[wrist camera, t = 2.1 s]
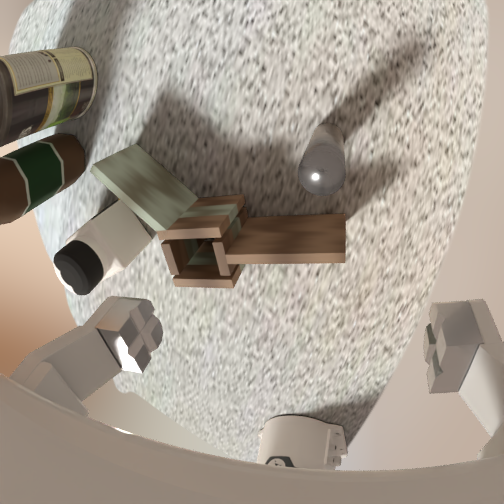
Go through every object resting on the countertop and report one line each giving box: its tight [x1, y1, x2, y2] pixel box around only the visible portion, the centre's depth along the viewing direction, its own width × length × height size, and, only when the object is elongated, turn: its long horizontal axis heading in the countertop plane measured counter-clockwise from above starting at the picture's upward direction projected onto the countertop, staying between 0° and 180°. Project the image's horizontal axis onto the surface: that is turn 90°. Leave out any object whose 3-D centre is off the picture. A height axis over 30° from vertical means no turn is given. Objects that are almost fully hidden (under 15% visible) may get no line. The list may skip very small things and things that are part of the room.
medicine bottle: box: [54, 199, 152, 295], centre depth 37 cm, size 7×7×12 cm
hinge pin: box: [298, 123, 346, 196], centre depth 24 cm, size 3×3×12 cm
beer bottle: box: [0, 133, 85, 225], centre depth 28 cm, size 8×8×24 cm
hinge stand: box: [90, 144, 346, 288], centre depth 32 cm, size 23×14×8 cm, turn 100°
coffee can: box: [0, 47, 97, 147], centre depth 26 cm, size 10×10×14 cm
